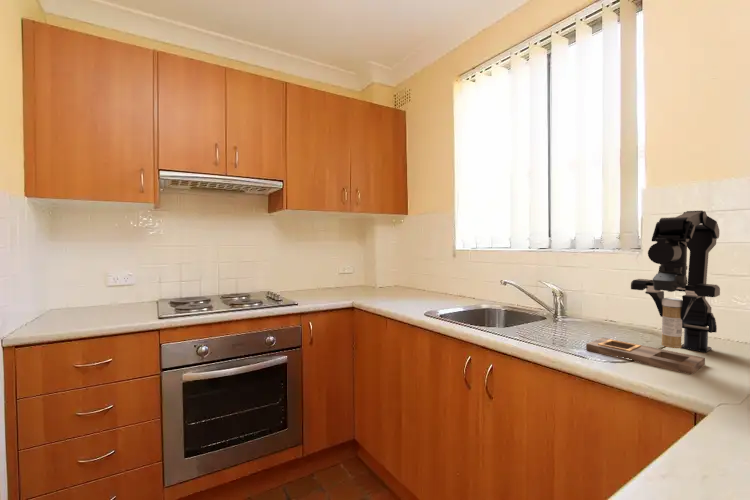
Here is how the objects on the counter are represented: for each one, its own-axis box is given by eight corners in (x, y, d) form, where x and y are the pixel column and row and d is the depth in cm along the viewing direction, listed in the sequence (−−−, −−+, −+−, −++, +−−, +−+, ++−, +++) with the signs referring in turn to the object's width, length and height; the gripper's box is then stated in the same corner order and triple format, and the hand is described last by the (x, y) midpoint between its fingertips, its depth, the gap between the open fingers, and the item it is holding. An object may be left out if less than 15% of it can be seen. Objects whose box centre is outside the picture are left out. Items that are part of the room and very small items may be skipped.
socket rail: (603, 343, 124) (603, 336, 124) (704, 364, 103) (705, 356, 103) (586, 350, 117) (586, 342, 117) (691, 374, 96) (691, 365, 96)
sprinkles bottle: (672, 343, 107) (673, 297, 106) (686, 348, 102) (687, 300, 102) (656, 344, 106) (657, 297, 106) (670, 349, 102) (671, 300, 101)
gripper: (623, 262, 106) (622, 316, 107) (709, 266, 91) (707, 329, 92) (638, 260, 113) (637, 311, 113) (721, 263, 98) (719, 322, 98)
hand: (672, 318), depth 104 cm, fingers closed on sprinkles bottle, 4 cm apart
